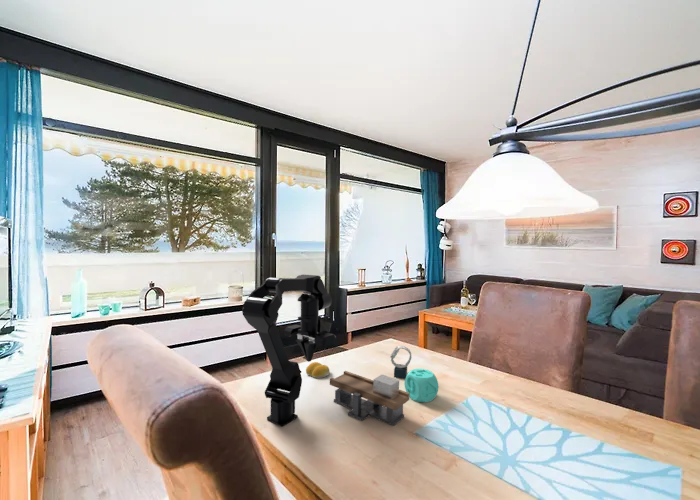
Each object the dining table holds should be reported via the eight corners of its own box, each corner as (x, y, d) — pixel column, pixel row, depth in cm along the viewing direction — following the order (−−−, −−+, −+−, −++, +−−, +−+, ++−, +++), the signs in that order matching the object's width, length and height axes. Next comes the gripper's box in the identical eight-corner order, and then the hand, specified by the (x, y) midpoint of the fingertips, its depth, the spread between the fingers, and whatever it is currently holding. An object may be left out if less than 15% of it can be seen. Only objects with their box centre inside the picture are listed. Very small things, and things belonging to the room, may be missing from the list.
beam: (329, 384, 110) (329, 378, 110) (345, 376, 117) (345, 370, 116) (395, 410, 96) (395, 403, 96) (409, 399, 102) (409, 393, 102)
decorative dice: (438, 399, 113) (439, 375, 113) (419, 404, 110) (419, 379, 109) (422, 389, 121) (423, 366, 120) (403, 394, 117) (404, 370, 116)
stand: (326, 406, 108) (326, 384, 108) (352, 391, 118) (352, 371, 118) (387, 431, 94) (387, 407, 94) (410, 412, 105) (410, 390, 105)
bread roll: (319, 380, 127) (319, 369, 127) (302, 374, 133) (302, 363, 132) (334, 373, 133) (334, 363, 133) (317, 367, 139) (317, 358, 139)
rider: (373, 394, 102) (373, 379, 102) (381, 388, 106) (381, 374, 106) (390, 400, 99) (391, 385, 98) (398, 394, 102) (399, 380, 102)
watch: (391, 371, 136) (391, 343, 136) (411, 373, 134) (412, 345, 133) (388, 376, 131) (389, 348, 130) (410, 379, 129) (411, 350, 128)
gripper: (347, 314, 113) (347, 361, 113) (307, 305, 125) (307, 348, 125) (323, 320, 104) (323, 371, 105) (283, 310, 116) (283, 356, 117)
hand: (309, 361), depth 113 cm, fingers closed
